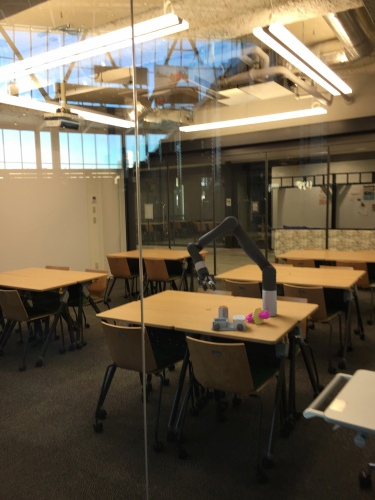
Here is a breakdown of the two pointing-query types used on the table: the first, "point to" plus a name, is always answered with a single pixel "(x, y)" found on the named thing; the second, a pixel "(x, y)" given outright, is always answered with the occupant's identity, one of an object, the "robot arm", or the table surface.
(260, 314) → the toy
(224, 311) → the engine block
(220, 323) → the chassis
